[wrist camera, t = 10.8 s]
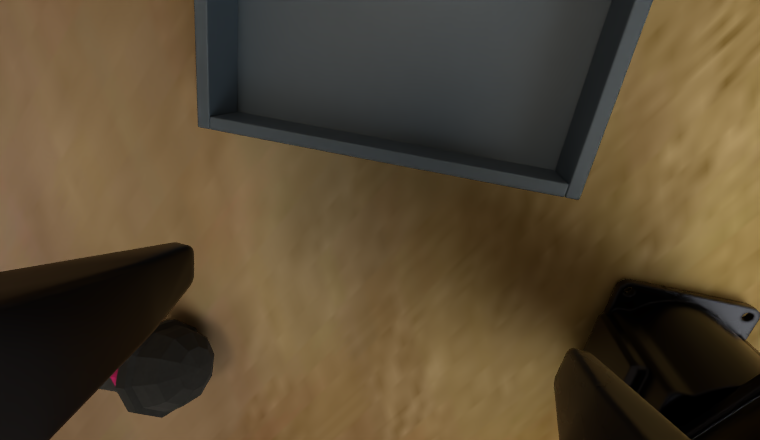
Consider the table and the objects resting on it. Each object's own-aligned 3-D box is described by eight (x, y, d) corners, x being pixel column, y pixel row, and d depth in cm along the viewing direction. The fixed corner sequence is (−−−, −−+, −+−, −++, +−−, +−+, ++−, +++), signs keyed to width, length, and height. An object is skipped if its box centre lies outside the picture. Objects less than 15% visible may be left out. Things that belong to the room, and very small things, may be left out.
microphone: (63, 347, 34) (244, 351, 27) (1, 412, 30) (198, 439, 22) (11, 308, 31) (200, 301, 24) (-67, 374, 26) (136, 391, 19)
